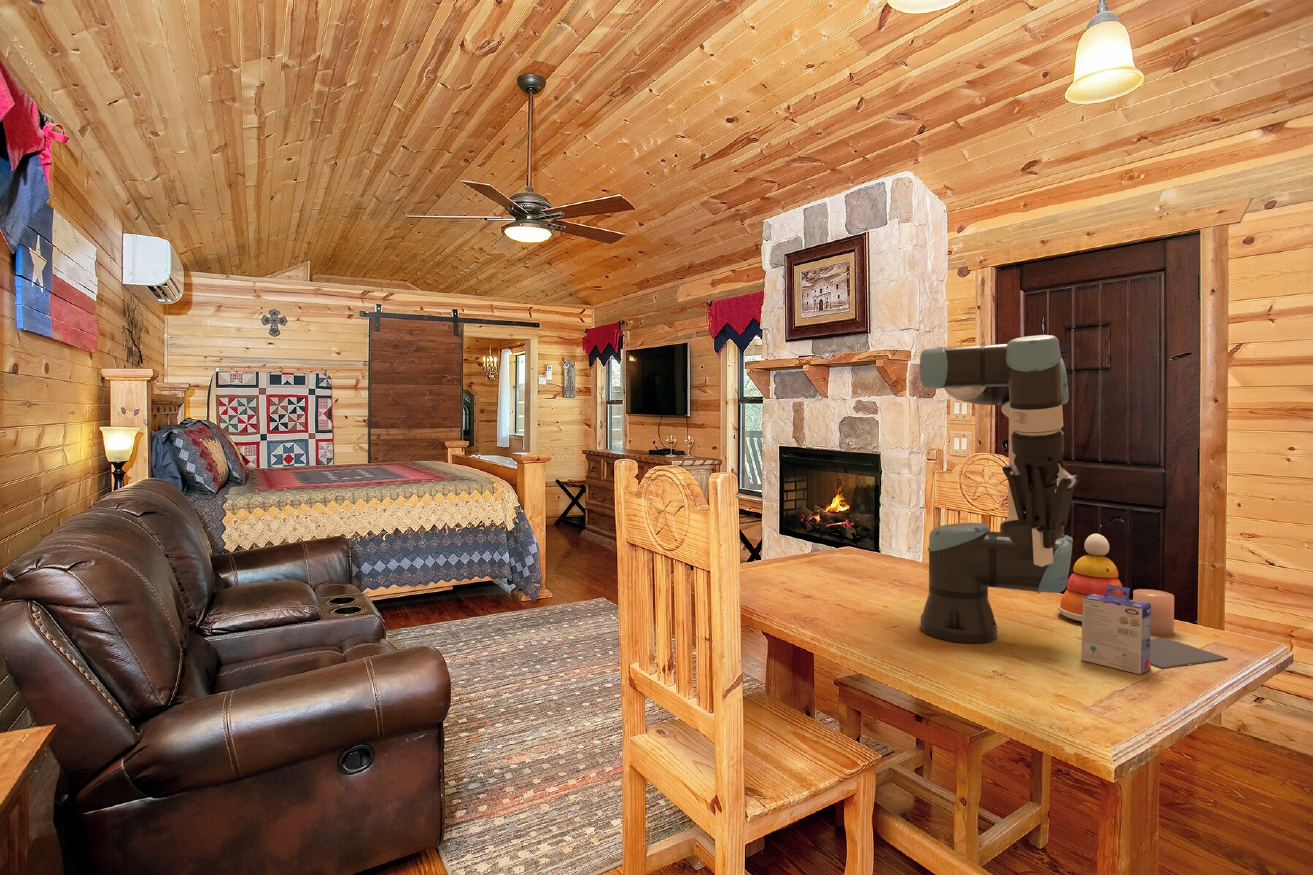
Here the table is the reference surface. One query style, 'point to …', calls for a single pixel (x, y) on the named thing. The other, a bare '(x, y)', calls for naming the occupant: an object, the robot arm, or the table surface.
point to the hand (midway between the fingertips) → (1043, 563)
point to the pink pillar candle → (1158, 610)
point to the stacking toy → (1089, 577)
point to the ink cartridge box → (1116, 631)
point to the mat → (1178, 654)
